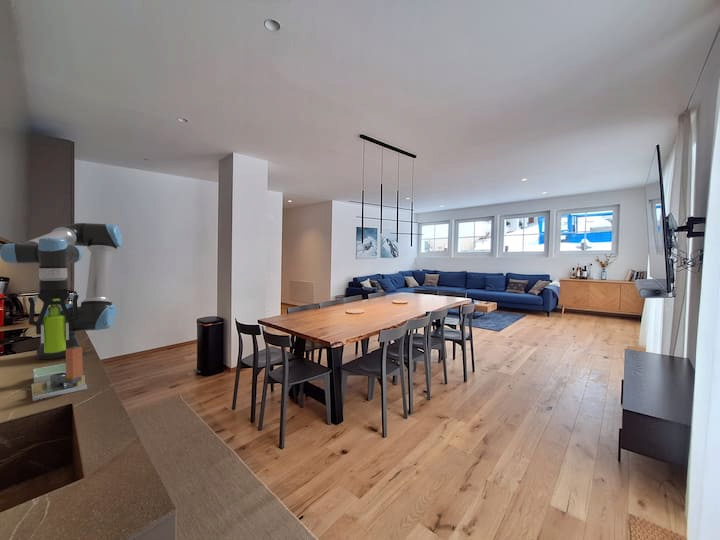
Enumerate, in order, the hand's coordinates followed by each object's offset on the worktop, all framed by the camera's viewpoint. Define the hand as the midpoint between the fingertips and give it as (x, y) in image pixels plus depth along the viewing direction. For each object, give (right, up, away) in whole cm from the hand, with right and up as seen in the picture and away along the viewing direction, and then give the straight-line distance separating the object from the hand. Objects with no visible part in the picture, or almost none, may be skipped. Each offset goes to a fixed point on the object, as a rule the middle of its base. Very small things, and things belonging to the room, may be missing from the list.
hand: (55, 340), depth 116 cm
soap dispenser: (0, -4, 0) cm, 4 cm away
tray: (0, -14, +1) cm, 14 cm away
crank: (+13, -13, -9) cm, 20 cm away
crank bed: (+10, -15, -8) cm, 20 cm away
